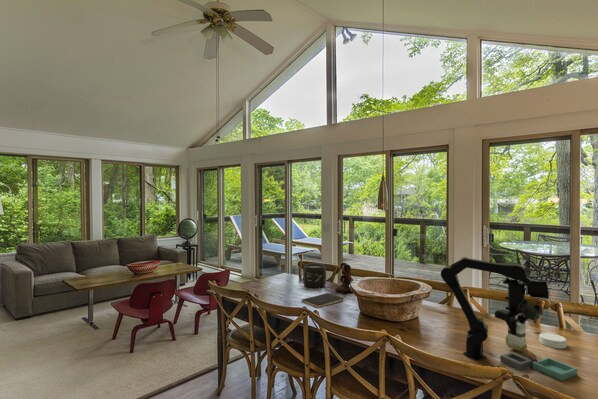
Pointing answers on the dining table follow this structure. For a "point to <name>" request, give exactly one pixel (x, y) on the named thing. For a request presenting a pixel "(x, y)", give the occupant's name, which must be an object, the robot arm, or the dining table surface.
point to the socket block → (516, 361)
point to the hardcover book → (322, 300)
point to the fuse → (518, 335)
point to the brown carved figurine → (344, 278)
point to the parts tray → (555, 369)
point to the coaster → (553, 340)
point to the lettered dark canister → (314, 276)
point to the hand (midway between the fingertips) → (516, 334)
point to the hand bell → (521, 349)
